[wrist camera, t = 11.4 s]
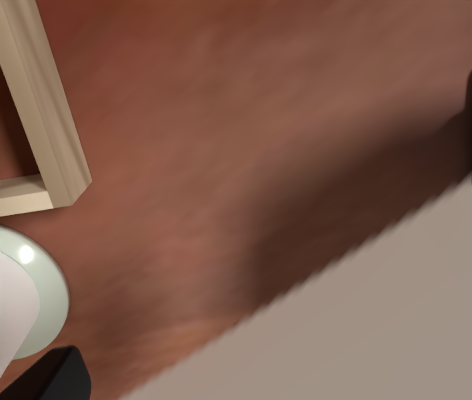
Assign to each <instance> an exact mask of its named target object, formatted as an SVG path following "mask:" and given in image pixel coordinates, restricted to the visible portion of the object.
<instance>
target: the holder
mask: <svg viewBox="0 0 472 400" xmlns="http://www.w3.org/2000/svg"><path fill="white" fill-rule="evenodd" d="M0 65H1V68H2V71H3V73H4V76H5V79H6V81H7V84H8V87H9V89H10V92H11V95H12V97H13V100H14V103H15V106H16V108H17V111H18V114H19V116H20V119H21V122H22V124H23V127H24V130H25V133H26V135H27V138H28V141H29V143H30V146H31V149H32V151H33V154H34V157H35V160H36V162H37V165H38V168H39V170H40V173H41V174H35V175H29V176H22V177H16V178H10V179H4V180H0V217H1V216H7V215H14V214H20V213H26V212H33V211H39V210H45V209H52V208H58V207H65V206H71V205H73V203H74V202H75V201H76V200H77V199H78V198H79V196H80V195H81V194H82V193H83V192H84V191H85V189H86V188H87V187H88V186H89V185H90V184H91V182H92V178H91V175H90V172H89V169H88V166H87V162H86V159H85V156H84V153H83V150H82V147H81V143H80V140H79V137H78V134H77V131H76V128H75V125H74V121H73V118H72V115H71V112H70V109H69V106H68V102H67V99H66V96H65V93H64V90H63V87H62V84H61V80H60V77H59V74H58V71H57V68H56V65H55V61H54V58H53V55H52V52H51V49H50V46H49V43H48V39H47V36H46V33H45V30H44V27H43V24H42V20H41V17H40V14H39V11H38V8H37V5H36V2H35V0H0Z"/></svg>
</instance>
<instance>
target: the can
mask: <svg viewBox="0 0 472 400" xmlns="http://www.w3.org/2000/svg"><path fill="white" fill-rule="evenodd" d="M39 311H40V300H39V295H38V292H37V289H36V286H35V284H34V282H33V280H32V278H31V277H30V275H29V274H28V272H27V271H26V270H25V269H24V268H23V267H22V266H21V265H20V264H19V263H18V262H17V261H15V260H14V259H13V258H11V257H10V256H8V255H6V254H5V253H3V252H0V378H1V376H2V374H3V373H4V371H5V370H6V368H7V366H8V365H9V363H10V362H11V360H12V358H13V357H14V355H15V354H16V352H17V350H18V349H19V347H20V346H21V344H22V342H23V341H24V339H25V338H26V336H27V334H28V333H29V331H30V329H31V328H32V326H33V324H34V323H35V321H36V319H37V317H38V315H39Z"/></svg>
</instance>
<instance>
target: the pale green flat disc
mask: <svg viewBox="0 0 472 400" xmlns="http://www.w3.org/2000/svg"><path fill="white" fill-rule="evenodd" d="M0 252H3V253H5V254H6V255H8V256H10V257H11V258H13V259H14V260H15V261H17V262H18V263H19V264H20V265H21V266H22V267H23V268H24V269H25V270H26V271H27V272H28V274H29V275H30V277H31V278H32V280H33V282H34V284H35V286H36V289H37V292H38V295H39V300H40V311H39V315H38V317H37V319H36V321H35V323H34V324H33V326H32V328H31V329H30V331H29V333H28V334H27V336H26V338H25V339H24V341H23V342H22V344H21V346H20V347H19V349H18V350H17V352H16V354H15V355H14V357H13V358H12V360H15V359H20V358H24V357H27V356H30V355H32V354H35V353H37V352H39V351H40V350H42V349H44V348H45V347H47V346H48V345H49V344H50V343H51V342H52V341H53V340H54V339H55V338H56V337H57V335H58V334H59V332H60V331H61V329H62V327H63V325H64V323H65V321H66V319H67V316H68V314H69V309H70V292H69V287H68V283H67V280H66V278H65V276H64V274H63V272H62V270H61V268H60V267H59V265H58V264H57V262H56V261H55V260H54V259H53V257H52V256H51V255H50V254H49V253H48V252H47V251H46V250H45V249H44V248H43V247H42V246H40V245H39V244H38V243H36V242H35V241H34V240H32V239H31V238H29V237H28V236H26V235H24V234H23V233H21V232H18V231H16V230H14V229H12V228H9V227H7V226H4V225H1V224H0Z"/></svg>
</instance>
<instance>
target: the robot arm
mask: <svg viewBox="0 0 472 400" xmlns="http://www.w3.org/2000/svg"><path fill="white" fill-rule="evenodd" d="M90 393H91V379H90V375H89V373H88V370H87V368H86V366H85V363H84V361H83V358H82V356H81V353H80V351H79V349H78V348H77V347H76V346H74V345H68V346H62V347H56V348H53V349H51V350H49V351H48V352H47V353H46V354H45V355H43V356H42V357H41V358H40V359H39V360H38V361H37V362H35V363H34V364H33V365H32V366H31V367H30V368H28V369H27V370H26V371H25V372H24V373H23V374H22V375H20V376H19V377H18V378H17V379H16V380H15V381H14V382H12V383H11V384H10V385H9V386H8V387H7V388H5V389H4V390H3V391H2V392H1V393H0V400H89V399H90Z"/></svg>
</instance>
